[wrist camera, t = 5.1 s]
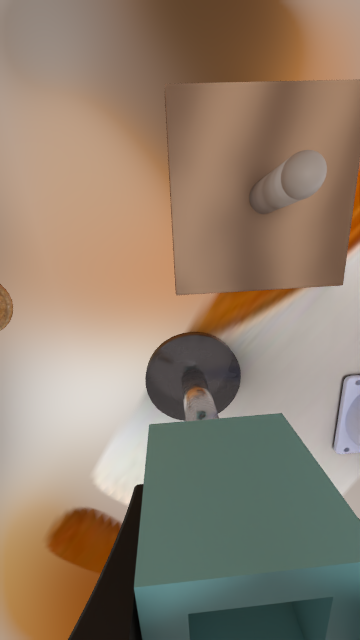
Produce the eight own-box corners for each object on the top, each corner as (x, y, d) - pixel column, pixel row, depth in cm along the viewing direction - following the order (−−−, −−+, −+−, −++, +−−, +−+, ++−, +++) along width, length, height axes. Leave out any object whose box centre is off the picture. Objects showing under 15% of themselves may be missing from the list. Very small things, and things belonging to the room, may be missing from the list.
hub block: (354, 92, 15) (489, -22, 9) (331, 283, 18) (417, 298, 12) (164, 97, 15) (164, -21, 8) (175, 292, 18) (181, 313, 12)
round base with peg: (238, 328, 19) (266, 358, 14) (237, 411, 21) (261, 464, 16) (142, 335, 19) (132, 368, 13) (150, 418, 21) (145, 475, 15)
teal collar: (281, 413, 10) (387, 558, 5) (274, 511, 12) (351, 693, 7) (149, 424, 10) (133, 587, 5) (159, 523, 11) (155, 720, 7)
